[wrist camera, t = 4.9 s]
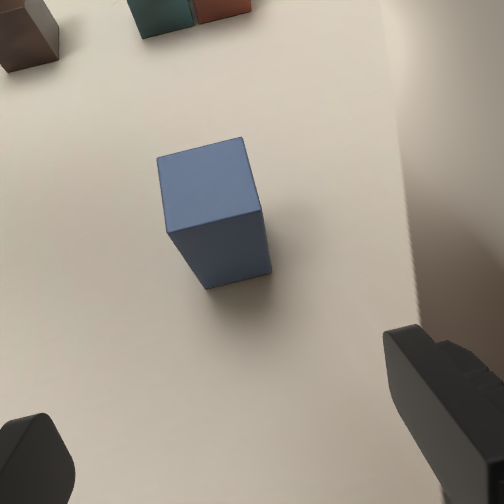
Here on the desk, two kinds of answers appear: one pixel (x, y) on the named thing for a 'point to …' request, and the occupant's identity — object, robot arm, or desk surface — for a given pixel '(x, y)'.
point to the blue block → (215, 212)
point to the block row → (47, 30)
